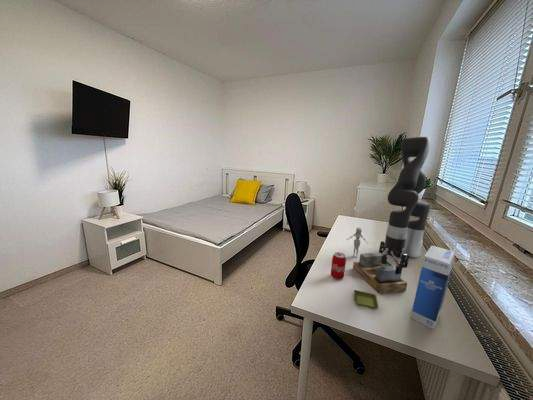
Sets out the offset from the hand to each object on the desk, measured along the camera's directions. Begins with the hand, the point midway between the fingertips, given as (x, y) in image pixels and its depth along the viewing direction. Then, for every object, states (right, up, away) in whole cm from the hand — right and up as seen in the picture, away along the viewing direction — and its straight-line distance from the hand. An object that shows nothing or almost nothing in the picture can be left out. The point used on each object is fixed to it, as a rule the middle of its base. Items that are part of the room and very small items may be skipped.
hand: (390, 268), depth 95 cm
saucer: (-15, -12, -8) cm, 21 cm away
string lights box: (+5, -13, -14) cm, 20 cm away
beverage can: (-21, -7, +9) cm, 24 cm away
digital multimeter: (+7, -5, +23) cm, 25 cm away
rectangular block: (-1, -8, +2) cm, 8 cm away
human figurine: (-3, -3, +30) cm, 30 cm away
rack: (-2, -8, +8) cm, 11 cm away
